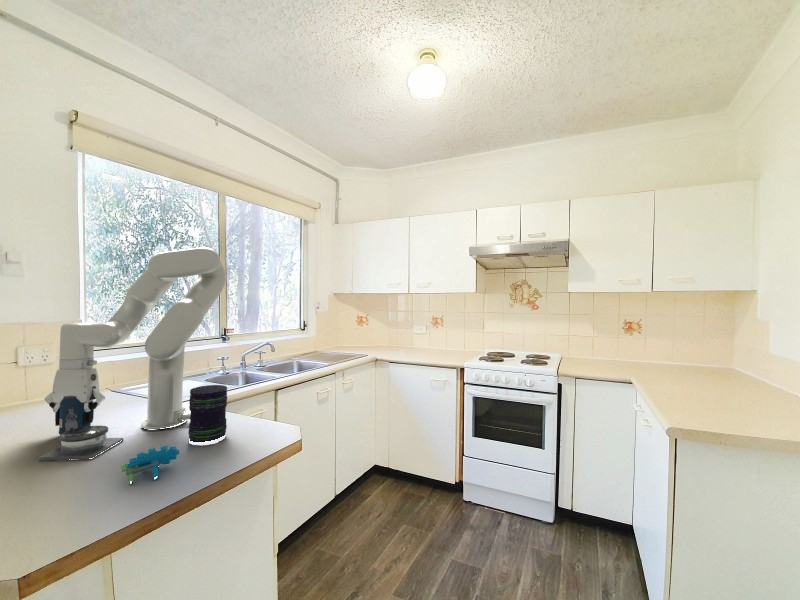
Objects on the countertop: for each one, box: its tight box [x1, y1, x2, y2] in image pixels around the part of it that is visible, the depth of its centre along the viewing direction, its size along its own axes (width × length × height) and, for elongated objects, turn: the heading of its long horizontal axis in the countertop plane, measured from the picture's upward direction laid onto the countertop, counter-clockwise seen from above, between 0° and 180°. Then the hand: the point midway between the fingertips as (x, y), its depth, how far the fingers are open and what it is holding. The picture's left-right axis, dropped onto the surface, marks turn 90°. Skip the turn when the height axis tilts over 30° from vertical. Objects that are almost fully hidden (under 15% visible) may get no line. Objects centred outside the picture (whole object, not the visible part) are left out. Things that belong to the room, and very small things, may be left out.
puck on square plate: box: [38, 425, 124, 462], centre depth 95 cm, size 12×12×5 cm
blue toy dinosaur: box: [120, 445, 181, 482], centre depth 81 cm, size 11×6×10 cm
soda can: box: [58, 397, 92, 436], centre depth 105 cm, size 7×7×12 cm
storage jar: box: [187, 384, 228, 442], centre depth 104 cm, size 10×10×15 cm
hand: (74, 423), depth 105 cm, fingers closed on soda can, 6 cm apart
